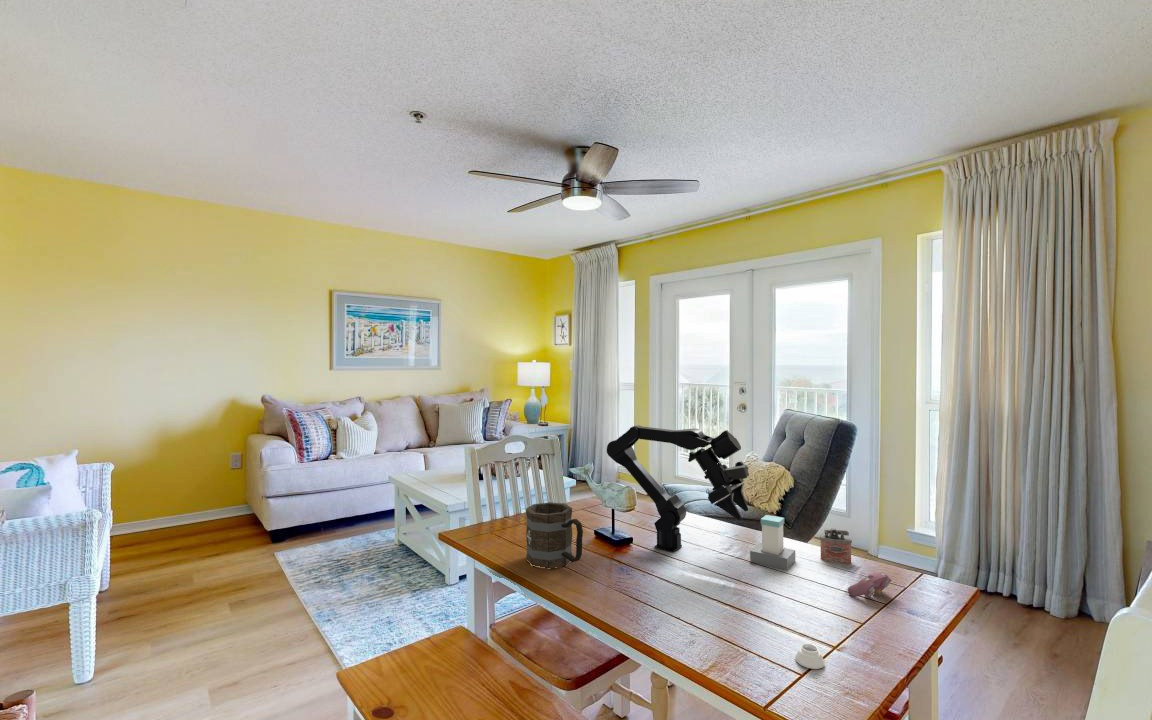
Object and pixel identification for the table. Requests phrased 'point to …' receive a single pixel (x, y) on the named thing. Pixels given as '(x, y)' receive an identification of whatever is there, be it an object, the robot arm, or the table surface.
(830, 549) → the lighter
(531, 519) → the mug
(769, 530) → the plug
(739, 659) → the table surface
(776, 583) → the table surface
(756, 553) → the grey hollow block
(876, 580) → the video game controller
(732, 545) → the table surface
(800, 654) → the white jar
